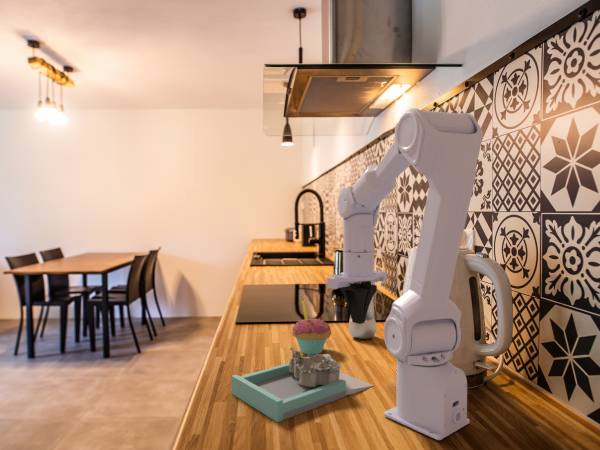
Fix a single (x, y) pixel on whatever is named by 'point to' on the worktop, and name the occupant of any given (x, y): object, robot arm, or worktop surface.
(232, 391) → the dock
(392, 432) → the worktop surface
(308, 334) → the cupcake
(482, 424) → the worktop surface
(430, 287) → the robot arm
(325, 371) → the egg carton
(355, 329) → the plastic bottle
